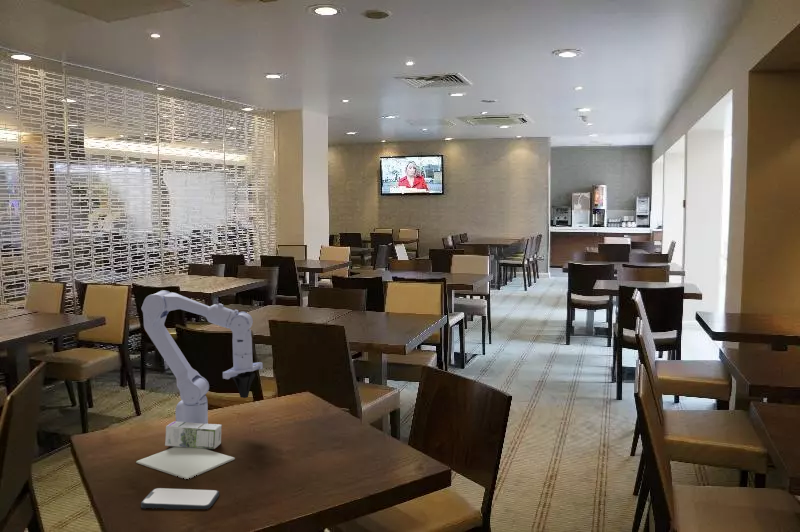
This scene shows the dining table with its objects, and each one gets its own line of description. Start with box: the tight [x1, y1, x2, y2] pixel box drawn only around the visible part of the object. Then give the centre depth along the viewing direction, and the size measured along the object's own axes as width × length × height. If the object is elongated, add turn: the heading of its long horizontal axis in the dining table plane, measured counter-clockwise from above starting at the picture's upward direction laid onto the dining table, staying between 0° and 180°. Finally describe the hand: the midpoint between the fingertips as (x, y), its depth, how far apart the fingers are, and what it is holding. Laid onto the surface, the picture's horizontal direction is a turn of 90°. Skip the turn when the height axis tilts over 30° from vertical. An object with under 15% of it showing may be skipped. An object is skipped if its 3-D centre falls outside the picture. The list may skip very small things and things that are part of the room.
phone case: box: [140, 487, 220, 510], centre depth 155 cm, size 9×2×16 cm
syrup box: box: [164, 420, 223, 450], centre depth 189 cm, size 6×6×14 cm
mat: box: [135, 446, 236, 480], centre depth 179 cm, size 20×16×1 cm
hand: (244, 397), depth 202 cm, fingers closed
